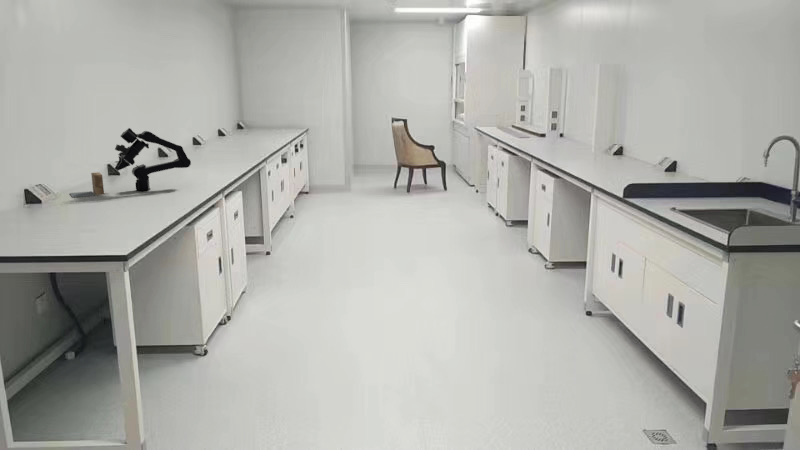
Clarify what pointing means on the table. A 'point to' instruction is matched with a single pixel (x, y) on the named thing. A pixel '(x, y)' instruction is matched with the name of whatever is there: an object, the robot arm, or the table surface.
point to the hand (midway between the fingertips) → (115, 169)
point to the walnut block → (97, 183)
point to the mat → (82, 194)
